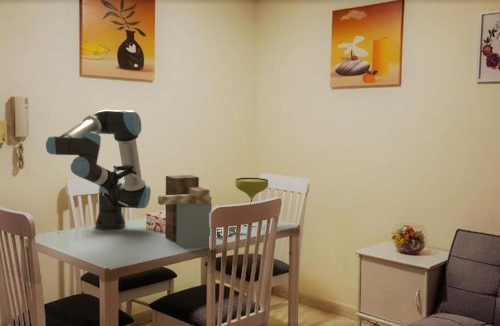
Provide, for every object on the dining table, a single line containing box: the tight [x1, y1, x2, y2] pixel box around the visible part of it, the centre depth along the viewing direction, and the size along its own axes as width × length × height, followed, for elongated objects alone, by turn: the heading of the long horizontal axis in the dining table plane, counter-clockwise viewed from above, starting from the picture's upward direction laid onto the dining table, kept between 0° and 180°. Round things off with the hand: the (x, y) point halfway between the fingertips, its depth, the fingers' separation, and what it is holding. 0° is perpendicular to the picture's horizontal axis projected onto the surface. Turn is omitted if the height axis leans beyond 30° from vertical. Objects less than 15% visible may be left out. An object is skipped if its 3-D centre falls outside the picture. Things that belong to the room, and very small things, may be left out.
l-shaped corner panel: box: [217, 227, 236, 236], centre depth 274 cm, size 12×12×8 cm
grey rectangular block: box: [175, 201, 213, 249], centre depth 251 cm, size 13×10×20 cm
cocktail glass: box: [234, 177, 269, 203], centre depth 299 cm, size 18×18×25 cm
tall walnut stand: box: [164, 174, 200, 242], centre depth 264 cm, size 13×10×30 cm
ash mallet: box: [157, 186, 210, 206], centre depth 247 cm, size 22×10×6 cm, turn 118°
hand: (132, 191), depth 249 cm, fingers open, 13 cm apart
